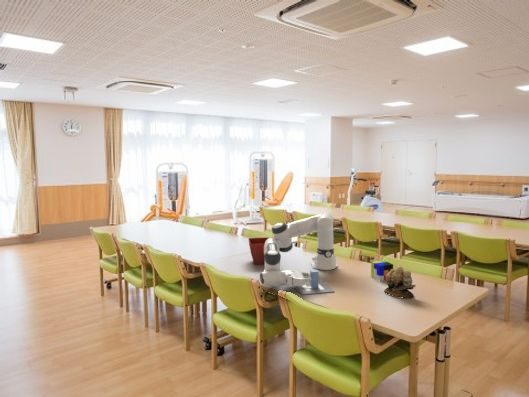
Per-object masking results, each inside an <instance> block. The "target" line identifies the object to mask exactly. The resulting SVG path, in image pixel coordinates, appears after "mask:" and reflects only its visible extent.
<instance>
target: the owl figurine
mask: <svg viewBox="0 0 529 397" xmlns="http://www.w3.org/2000/svg"><path fill="white" fill-rule="evenodd" d="M385 281H386V282H385V283H386V284H387V287H386V288H385V289H384V290H383V292H384V294H386V293H387V294H386V295H388V294H390V295H393V296H397V297H403V298H402V299H406V298H408V299H412V298H413V297H414V296H415V295H414V294H413V292H412V291H410V290H414V288H415V287H416V286H417V285H416V284H413V278H412V272H411V271H410V270H407V269H406V270H404V267H403V266H401V265H398V266H396V267H395V268H393V269H391V270H390V272H389V273H388V274H386V280H385ZM390 295H389V296H390ZM393 296H392V297H393ZM397 297H396V298H397ZM411 297H412V298H411Z"/></svg>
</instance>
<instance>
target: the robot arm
mask: <svg viewBox="0 0 529 397" xmlns="http://www.w3.org/2000/svg"><path fill="white" fill-rule="evenodd" d="M334 219H335V218H334V216H333V215H332V214H331V213H329V212H322V213H319V214H316V215H313V216H310V217H306V218H302V219H298V220H295V221H292V222H289V223H284V222H278V223H274V224H273V225H272V228H271V231H272V235H273V237H272V238H270V237H267V238H268V239H267V240H266V241H265V244H264V258H265V264H264V269H263V271H261V272H260V273H259V280H260V284H262V285H263V286H271V287H272V286H278V285H279V286H286V287H288V288H292V287H294V286H302V285H305V282H310V281H312V278H311V277H310V276H309V273H308V272H304V271H300V269H285V270H284V269H282V270H281V258H282V255H281V253H288V252H290V251H292V249H293V247H294V245H293V244H294V243H293V241H292V237H300V236H305V235H308V234H312V233H314V232H317V233H316V234H317V248H316V253H315V254H314V256H313V257H312V258H311V260H312V261H310V265H311V267H312V269H314V270H322V271H323V270H324V271H329V270H330V271H331V270H333V269H336V268H337V267H339V265H338V264H337V258H336V254H335V248H334Z"/></svg>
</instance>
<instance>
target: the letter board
mask: <svg viewBox="0 0 529 397" xmlns="http://www.w3.org/2000/svg"><path fill="white" fill-rule="evenodd" d="M293 287H294V288H295V289H296V290H297V291H298V293H299V294H300V295H301V296H309V295H318V294H319V295H320V294H331V293H332V294H333V293H335V290H333V288H332V287H330V286H329V285H328V284H327V283H326V282H325V281H324V280H320V281H319V288H312V287H311V286H310V281H308V282H305V285H302V286H293Z"/></svg>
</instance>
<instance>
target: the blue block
mask: <svg viewBox="0 0 529 397" xmlns="http://www.w3.org/2000/svg"><path fill="white" fill-rule="evenodd" d="M319 273H320V272H319V271H318V269H310V274H309V275H310V276H309V277H311V278H312V281H309V282H310V286H311V287H312V288H319Z"/></svg>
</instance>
